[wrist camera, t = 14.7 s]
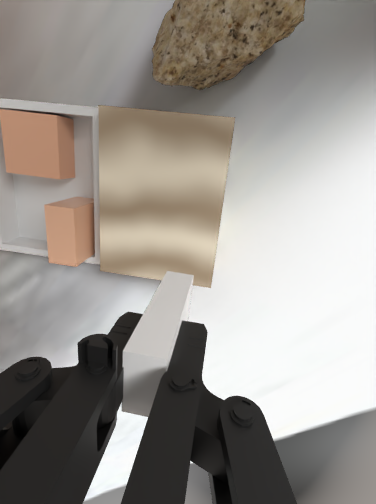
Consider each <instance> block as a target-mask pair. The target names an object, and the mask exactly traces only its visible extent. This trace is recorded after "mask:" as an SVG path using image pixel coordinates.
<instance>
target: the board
mask: <svg viewBox="0 0 376 504" xmlns="http://www.w3.org/2000/svg"><path fill="white" fill-rule="evenodd" d="M98 110H99V201H100V271H104V272H110V273H117V274H123V275H130V276H136V277H143V278H149V279H156V280H162V279H163V277H164V276H165V274H166V272H167V271H171V272H177V273H183V274H190V275H194V277H193V285H195V286H201V287H208V288H211V282H212V275H213V268H214V262H215V255H216V248H217V241H218V234H219V227H220V220H221V213H222V206H223V199H224V192H225V185H226V178H227V171H228V164H229V157H230V150H231V143H232V136H233V130H234V123H235V118H233V117H222V116H212V115H201V114H190V113H179V112H168V111H157V110H147V109H136V108H125V107H114V106H103V105H98Z"/></svg>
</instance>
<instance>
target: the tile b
mask: <svg viewBox="0 0 376 504" xmlns="http://www.w3.org/2000/svg"><path fill="white" fill-rule="evenodd" d="M44 210H45V222H46V235H47V247H48V259H49V263H54V264H61V265H67V266H74V267H77V266H78V265H80V264H81V263H82V262H84V261H85V260H87V259H88V258H89V257H91V256H92V255H94V254H95V228H94V199H93V198H85V197H77V196H76V197H73V198H69V199H65V200H61V201H57V202H53V203H49V204H45V205H44Z"/></svg>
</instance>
